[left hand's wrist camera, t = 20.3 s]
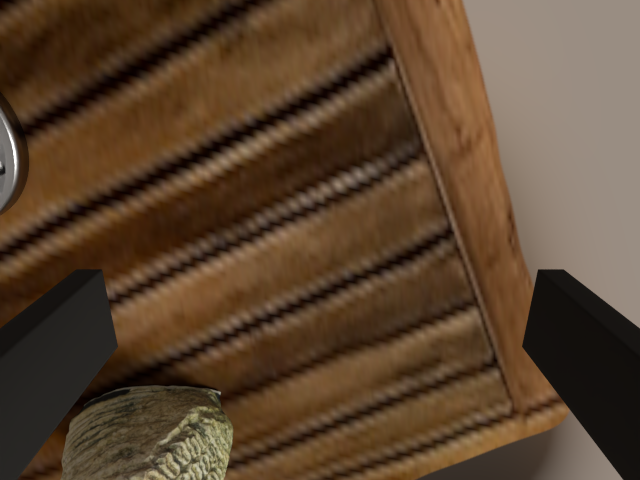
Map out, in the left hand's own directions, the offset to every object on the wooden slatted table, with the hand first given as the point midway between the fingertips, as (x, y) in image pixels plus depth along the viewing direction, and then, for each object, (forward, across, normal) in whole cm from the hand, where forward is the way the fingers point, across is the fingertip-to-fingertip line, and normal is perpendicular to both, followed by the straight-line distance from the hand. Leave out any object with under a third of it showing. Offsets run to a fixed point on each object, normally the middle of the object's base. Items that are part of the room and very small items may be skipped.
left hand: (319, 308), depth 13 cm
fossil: (+26, +18, +28) cm, 42 cm away
